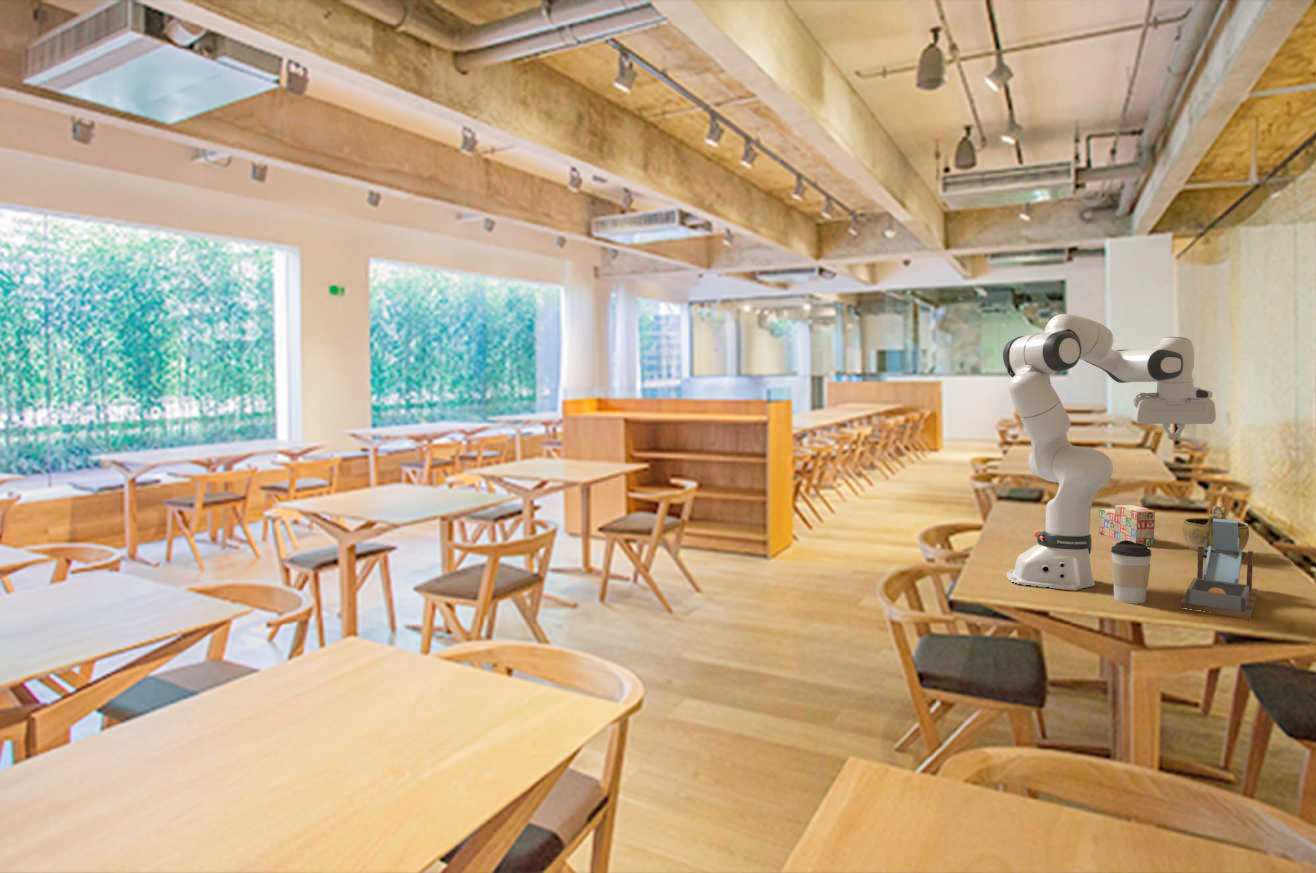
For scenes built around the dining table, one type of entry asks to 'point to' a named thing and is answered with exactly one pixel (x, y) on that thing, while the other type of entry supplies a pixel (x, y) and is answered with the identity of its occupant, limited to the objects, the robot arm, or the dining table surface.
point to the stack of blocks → (1128, 523)
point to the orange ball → (1216, 590)
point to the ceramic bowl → (1210, 530)
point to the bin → (1218, 595)
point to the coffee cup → (1130, 571)
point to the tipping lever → (1224, 554)
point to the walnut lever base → (1225, 612)
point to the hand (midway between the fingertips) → (1173, 439)
